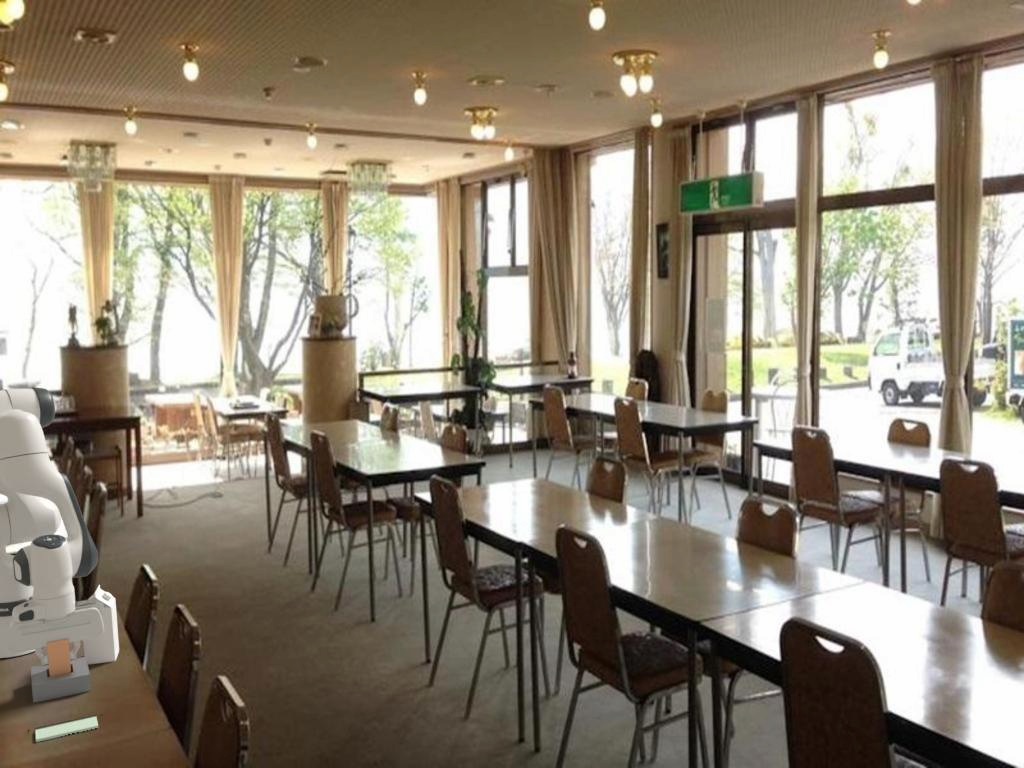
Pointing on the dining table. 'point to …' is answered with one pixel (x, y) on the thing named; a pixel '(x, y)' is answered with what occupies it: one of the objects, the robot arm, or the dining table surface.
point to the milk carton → (108, 642)
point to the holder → (60, 681)
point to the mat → (66, 728)
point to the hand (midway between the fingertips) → (59, 662)
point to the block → (58, 657)
